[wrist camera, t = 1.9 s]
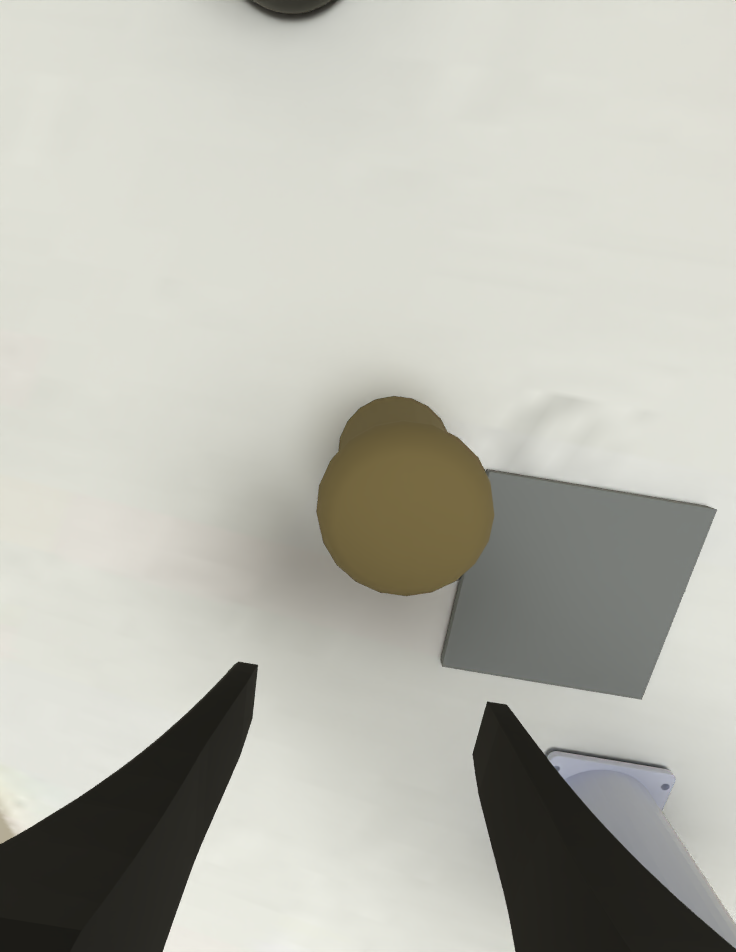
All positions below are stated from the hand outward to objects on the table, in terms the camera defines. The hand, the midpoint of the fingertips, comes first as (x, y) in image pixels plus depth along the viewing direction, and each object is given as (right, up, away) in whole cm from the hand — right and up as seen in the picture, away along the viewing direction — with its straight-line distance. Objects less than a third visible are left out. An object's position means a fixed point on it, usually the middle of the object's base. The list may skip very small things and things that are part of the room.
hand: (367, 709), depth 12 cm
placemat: (+11, +1, +10) cm, 15 cm away
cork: (+1, +8, +9) cm, 12 cm away
